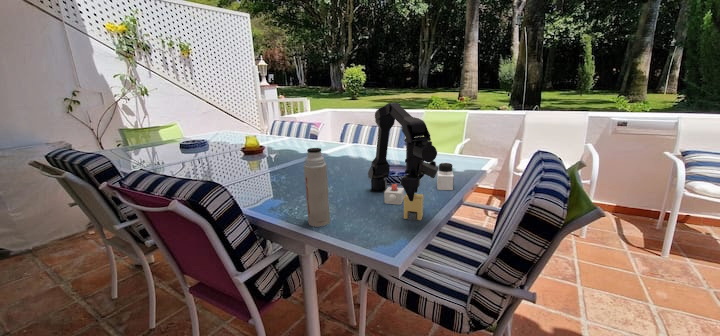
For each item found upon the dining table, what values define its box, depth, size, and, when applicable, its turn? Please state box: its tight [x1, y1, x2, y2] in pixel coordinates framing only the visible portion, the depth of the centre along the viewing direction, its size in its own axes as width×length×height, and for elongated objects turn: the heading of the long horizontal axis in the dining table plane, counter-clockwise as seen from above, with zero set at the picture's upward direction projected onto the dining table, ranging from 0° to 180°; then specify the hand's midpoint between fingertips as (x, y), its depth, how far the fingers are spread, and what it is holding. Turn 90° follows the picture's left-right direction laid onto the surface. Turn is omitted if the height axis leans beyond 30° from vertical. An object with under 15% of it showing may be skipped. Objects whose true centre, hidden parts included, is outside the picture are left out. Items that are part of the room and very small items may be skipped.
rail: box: [407, 211, 418, 222], centre depth 123 cm, size 3×16×3 cm, turn 161°
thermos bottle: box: [303, 147, 331, 228], centre depth 113 cm, size 8×8×28 cm
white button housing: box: [383, 186, 405, 205], centre depth 134 cm, size 7×7×5 cm
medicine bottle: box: [436, 162, 455, 191], centre depth 148 cm, size 7×7×12 cm
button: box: [391, 183, 398, 190], centre depth 133 cm, size 2×2×2 cm
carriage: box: [403, 193, 424, 221], centre depth 117 cm, size 6×5×8 cm
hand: (413, 196), depth 117 cm, fingers open, 9 cm apart
